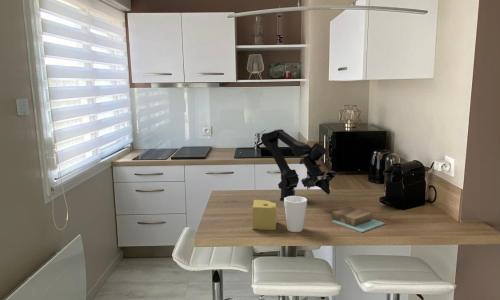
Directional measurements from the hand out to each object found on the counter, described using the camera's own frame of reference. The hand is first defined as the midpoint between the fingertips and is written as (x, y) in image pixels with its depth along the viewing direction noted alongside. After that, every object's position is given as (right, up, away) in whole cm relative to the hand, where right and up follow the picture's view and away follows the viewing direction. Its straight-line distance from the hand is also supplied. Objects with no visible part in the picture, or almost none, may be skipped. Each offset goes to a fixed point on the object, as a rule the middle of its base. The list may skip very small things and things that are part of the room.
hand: (329, 193), depth 184 cm
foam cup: (-18, -13, -19) cm, 29 cm away
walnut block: (+5, -8, -4) cm, 10 cm away
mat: (+10, -11, -11) cm, 19 cm away
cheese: (-31, -12, -15) cm, 36 cm away
